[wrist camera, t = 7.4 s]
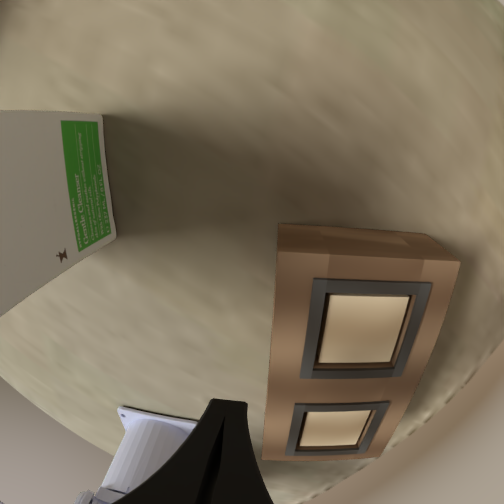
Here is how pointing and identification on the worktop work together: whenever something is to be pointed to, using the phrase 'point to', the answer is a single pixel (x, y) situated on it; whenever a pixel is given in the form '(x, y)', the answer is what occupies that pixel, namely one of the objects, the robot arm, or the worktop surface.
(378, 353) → the peg
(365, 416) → the peg
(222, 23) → the worktop surface
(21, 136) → the skincare box
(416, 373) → the walnut block
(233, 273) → the worktop surface
